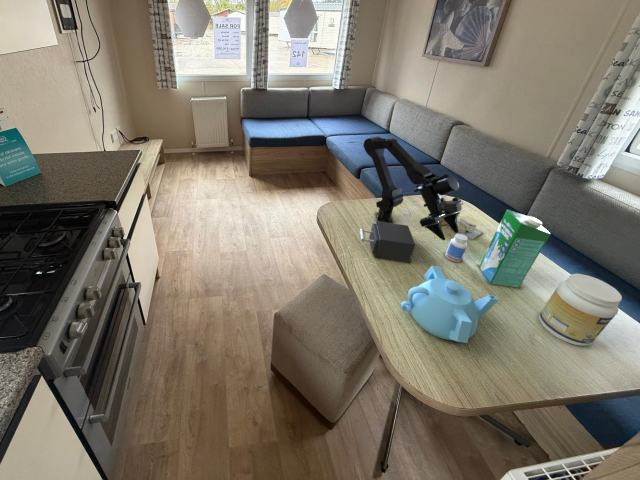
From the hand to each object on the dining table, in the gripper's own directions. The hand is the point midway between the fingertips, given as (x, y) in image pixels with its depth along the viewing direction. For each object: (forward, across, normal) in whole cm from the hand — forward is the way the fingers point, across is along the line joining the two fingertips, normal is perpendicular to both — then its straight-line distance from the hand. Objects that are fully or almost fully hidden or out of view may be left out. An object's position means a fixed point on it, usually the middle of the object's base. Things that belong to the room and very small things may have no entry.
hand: (450, 236), depth 117 cm
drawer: (-6, -21, +16) cm, 26 cm away
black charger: (-3, -18, +14) cm, 23 cm away
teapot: (+18, -33, -6) cm, 38 cm away
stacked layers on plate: (+3, +23, +8) cm, 25 cm away
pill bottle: (+8, 0, +3) cm, 9 cm away
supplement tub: (+32, -4, -22) cm, 39 cm away
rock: (-3, +18, +15) cm, 24 cm away
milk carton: (+18, +4, -7) cm, 20 cm away
